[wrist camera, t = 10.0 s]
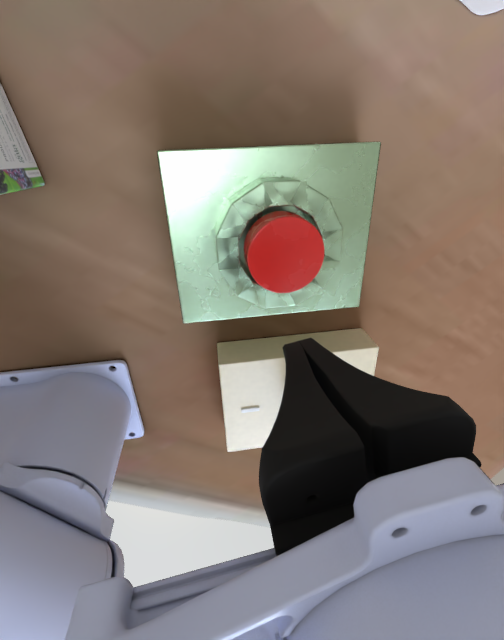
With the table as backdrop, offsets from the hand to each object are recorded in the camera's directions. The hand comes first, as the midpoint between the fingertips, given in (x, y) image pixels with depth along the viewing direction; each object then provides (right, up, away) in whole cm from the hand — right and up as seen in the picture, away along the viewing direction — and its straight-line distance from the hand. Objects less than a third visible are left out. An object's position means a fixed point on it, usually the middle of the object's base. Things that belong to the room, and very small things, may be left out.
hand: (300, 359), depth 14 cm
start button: (-1, +6, +3) cm, 7 cm away
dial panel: (+1, -3, +14) cm, 14 cm away
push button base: (-1, +8, +7) cm, 11 cm away
